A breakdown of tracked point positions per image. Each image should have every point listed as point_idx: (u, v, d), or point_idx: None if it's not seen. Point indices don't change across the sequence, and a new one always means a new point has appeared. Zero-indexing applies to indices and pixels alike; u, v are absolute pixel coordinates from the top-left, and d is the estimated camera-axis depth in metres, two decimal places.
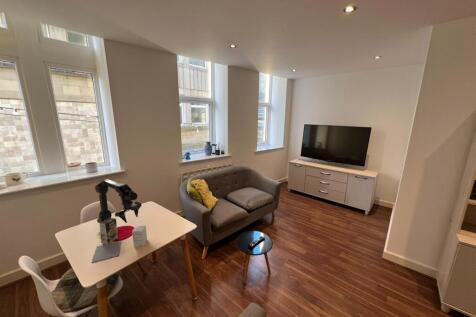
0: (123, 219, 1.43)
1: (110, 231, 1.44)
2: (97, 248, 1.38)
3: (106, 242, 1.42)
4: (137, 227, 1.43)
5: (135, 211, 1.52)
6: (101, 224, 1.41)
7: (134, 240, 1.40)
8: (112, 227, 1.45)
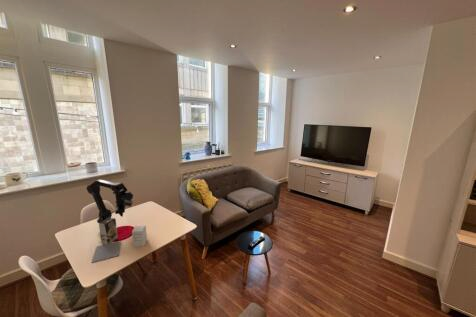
0: (120, 213, 1.56)
1: (110, 231, 1.44)
2: (97, 248, 1.38)
3: (106, 242, 1.42)
4: (137, 227, 1.43)
5: None
6: (100, 224, 1.41)
7: (134, 240, 1.40)
8: (112, 227, 1.45)
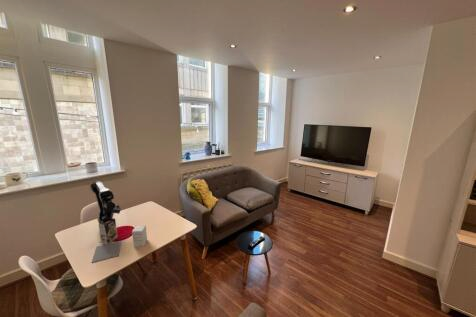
0: None
1: (110, 231, 1.43)
2: (97, 248, 1.38)
3: (106, 242, 1.42)
4: (137, 227, 1.43)
5: None
6: (100, 225, 1.40)
7: (134, 240, 1.40)
8: (111, 227, 1.44)
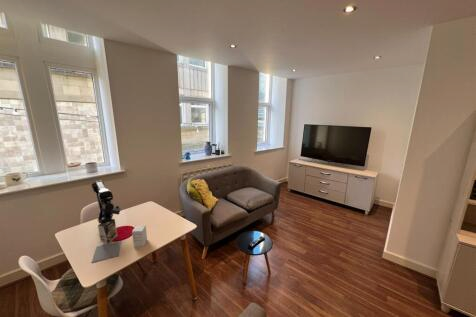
0: None
1: (110, 232, 1.42)
2: (97, 248, 1.38)
3: (106, 242, 1.42)
4: (137, 227, 1.43)
5: None
6: (99, 227, 1.37)
7: (134, 240, 1.40)
8: (111, 228, 1.43)
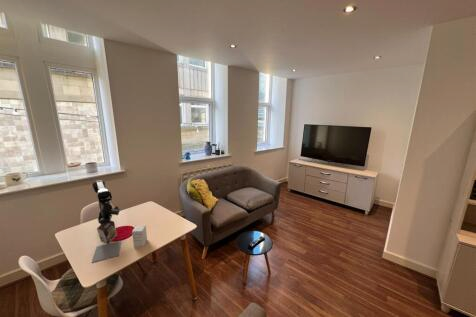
0: None
1: (109, 234, 1.40)
2: (97, 248, 1.38)
3: (106, 242, 1.42)
4: (137, 227, 1.43)
5: None
6: (99, 230, 1.34)
7: (134, 240, 1.40)
8: (111, 230, 1.40)
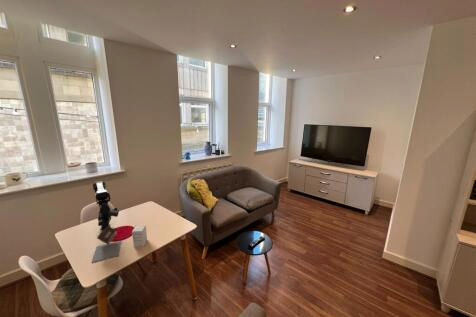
0: (106, 225, 1.39)
1: (110, 239, 1.37)
2: (97, 248, 1.38)
3: (106, 243, 1.41)
4: (137, 227, 1.43)
5: None
6: (99, 239, 1.30)
7: (134, 240, 1.40)
8: (111, 236, 1.37)
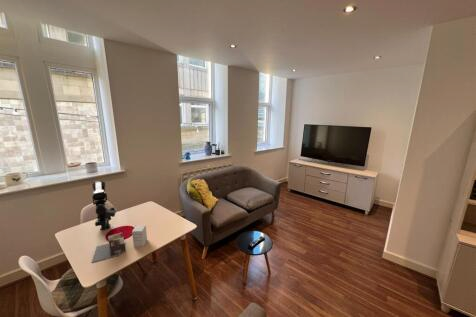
0: (102, 224, 1.41)
1: None
2: (97, 248, 1.38)
3: None
4: (137, 227, 1.43)
5: None
6: None
7: (134, 240, 1.40)
8: None
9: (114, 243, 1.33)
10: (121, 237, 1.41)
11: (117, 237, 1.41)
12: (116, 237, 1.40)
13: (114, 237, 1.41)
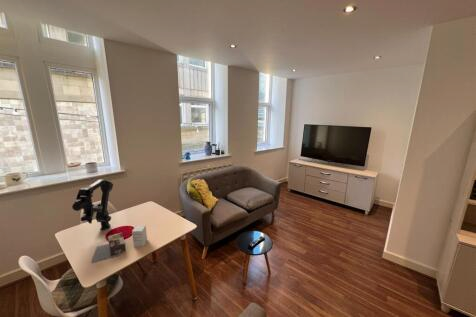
0: (89, 220, 1.45)
1: None
2: (97, 248, 1.38)
3: None
4: (137, 227, 1.43)
5: None
6: None
7: (134, 240, 1.40)
8: None
9: (114, 243, 1.33)
10: (121, 237, 1.41)
11: (117, 237, 1.41)
12: (116, 237, 1.40)
13: (114, 237, 1.41)
